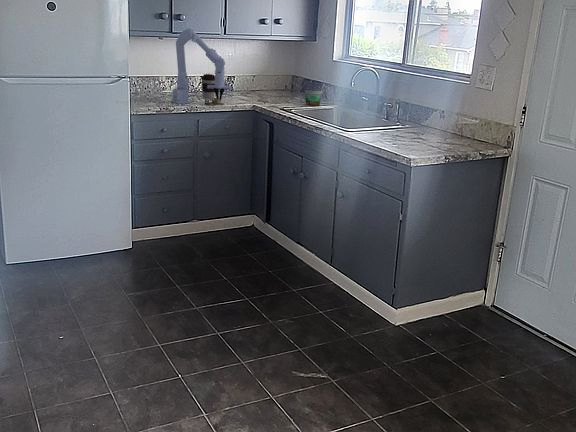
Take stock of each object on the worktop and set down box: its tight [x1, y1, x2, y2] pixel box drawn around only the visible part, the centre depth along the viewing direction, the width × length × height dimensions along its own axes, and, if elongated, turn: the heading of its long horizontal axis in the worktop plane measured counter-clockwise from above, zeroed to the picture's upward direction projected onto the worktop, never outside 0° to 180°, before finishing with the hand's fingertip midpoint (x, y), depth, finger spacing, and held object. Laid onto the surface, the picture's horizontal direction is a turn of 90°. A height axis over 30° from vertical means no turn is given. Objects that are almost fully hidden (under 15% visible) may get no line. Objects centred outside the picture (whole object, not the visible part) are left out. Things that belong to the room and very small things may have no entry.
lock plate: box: [203, 98, 225, 107], centre depth 400 cm, size 11×6×4 cm, turn 131°
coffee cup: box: [200, 73, 215, 100], centre depth 421 cm, size 10×10×15 cm
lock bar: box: [211, 97, 220, 103], centre depth 399 cm, size 6×2×2 cm, turn 48°
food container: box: [303, 89, 323, 107], centre depth 421 cm, size 12×6×10 cm, turn 105°
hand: (218, 100), depth 400 cm, fingers closed
